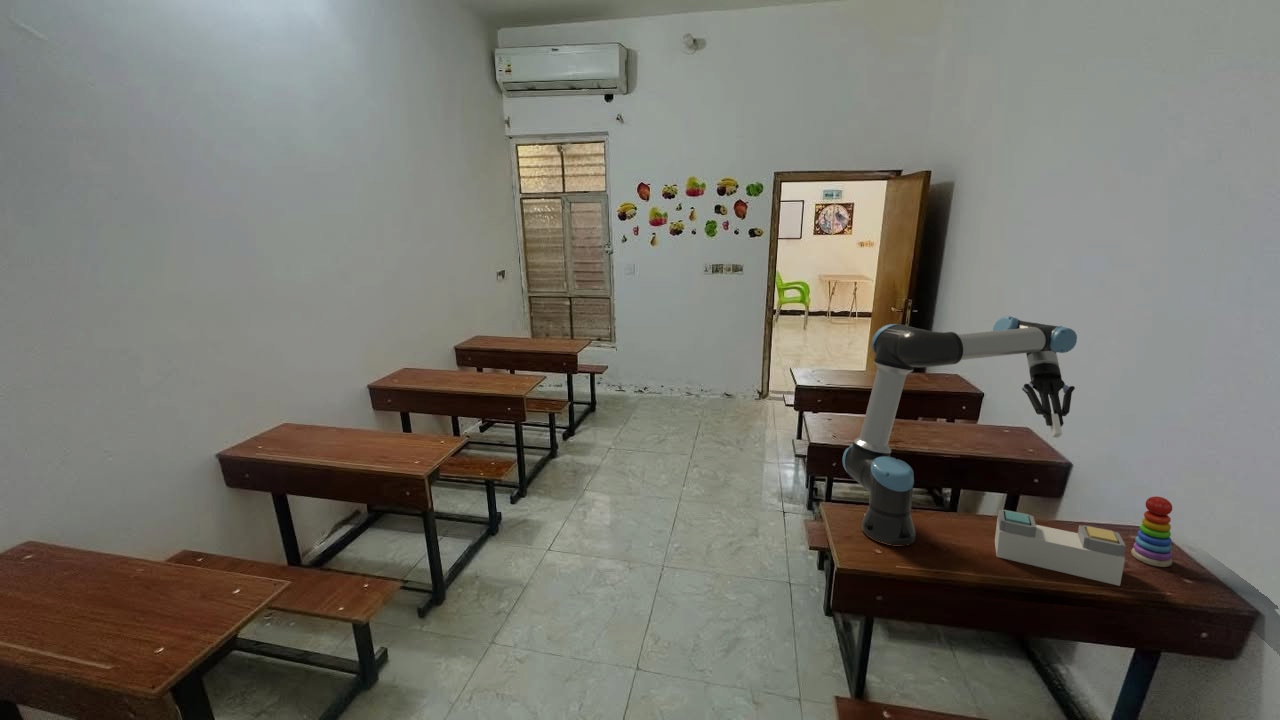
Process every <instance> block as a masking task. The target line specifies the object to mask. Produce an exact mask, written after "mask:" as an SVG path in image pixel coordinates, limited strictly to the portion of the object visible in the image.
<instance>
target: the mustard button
mask: <svg viewBox="0 0 1280 720" xmlns="http://www.w3.org/2000/svg"><path fill="white" fill-rule="evenodd" d="M1086 526H1087V529H1086V532H1087V534H1088V536H1089V538H1094V539H1099V540H1104V541H1109V542H1114V543H1118V540H1117V538H1116V536H1115V535H1114V533H1113V532H1114V530H1111V531H1109V530H1110V529H1106V530H1104V529H1105V528H1101V529H1099V527H1096V528H1093V527H1094V526H1091V527H1088V526H1089V525H1086Z"/></svg>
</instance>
